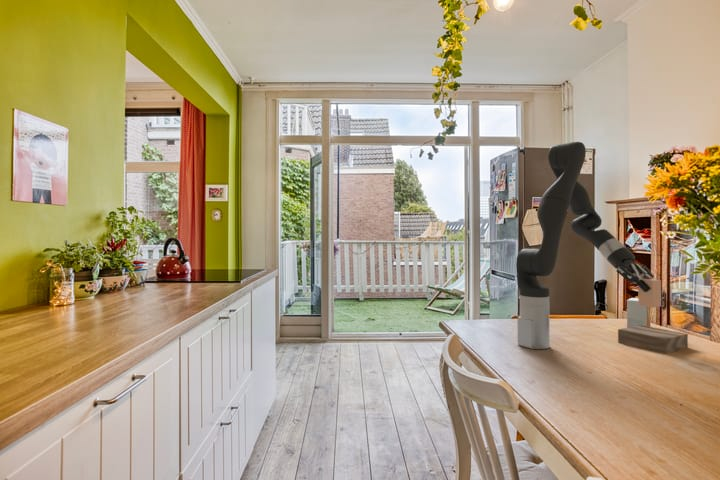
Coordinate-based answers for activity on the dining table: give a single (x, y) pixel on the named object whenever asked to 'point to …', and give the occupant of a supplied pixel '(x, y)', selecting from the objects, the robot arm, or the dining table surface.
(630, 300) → the small box
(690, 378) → the dining table surface
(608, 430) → the dining table surface
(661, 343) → the walnut block
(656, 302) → the terracotta block
